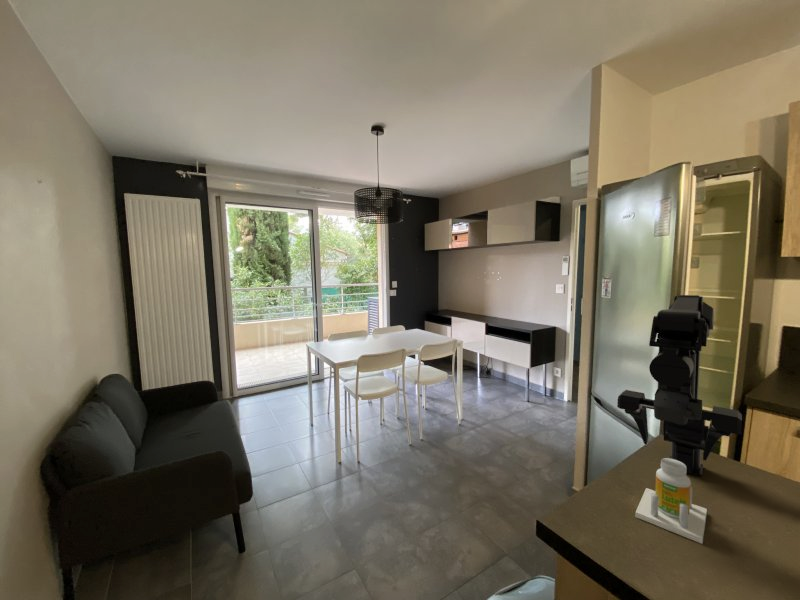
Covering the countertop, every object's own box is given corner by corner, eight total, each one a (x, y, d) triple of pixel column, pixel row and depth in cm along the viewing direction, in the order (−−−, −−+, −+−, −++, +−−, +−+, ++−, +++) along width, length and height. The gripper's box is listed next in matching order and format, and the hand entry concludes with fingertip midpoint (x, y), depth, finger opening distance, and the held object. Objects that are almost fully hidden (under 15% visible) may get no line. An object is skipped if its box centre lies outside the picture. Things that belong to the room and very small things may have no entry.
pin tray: (646, 492, 75) (646, 470, 75) (706, 513, 68) (707, 489, 68) (635, 516, 68) (635, 492, 67) (702, 543, 60) (703, 517, 60)
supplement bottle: (657, 514, 67) (659, 466, 66) (652, 498, 71) (653, 453, 71) (693, 523, 64) (695, 473, 64) (685, 506, 69) (686, 460, 68)
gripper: (611, 374, 68) (609, 450, 69) (743, 395, 55) (739, 489, 56) (624, 364, 76) (623, 432, 77) (743, 380, 63) (739, 462, 63)
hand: (673, 451), depth 68 cm, fingers open, 9 cm apart
